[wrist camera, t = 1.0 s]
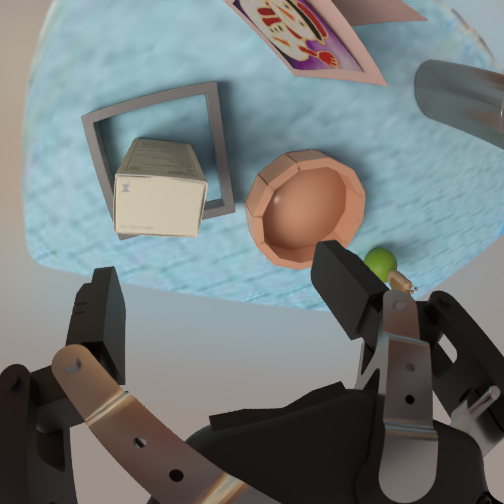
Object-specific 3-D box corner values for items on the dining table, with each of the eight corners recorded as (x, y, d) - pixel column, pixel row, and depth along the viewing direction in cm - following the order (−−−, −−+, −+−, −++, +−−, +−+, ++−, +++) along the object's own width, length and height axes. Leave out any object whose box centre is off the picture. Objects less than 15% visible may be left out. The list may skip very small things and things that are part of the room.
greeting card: (215, 4, 20) (258, -56, 8) (270, -31, 18) (347, -87, 6) (289, 80, 26) (379, 93, 14) (336, 44, 24) (440, 44, 12)
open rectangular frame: (213, 81, 24) (216, 81, 23) (231, 204, 33) (235, 212, 31) (86, 113, 23) (81, 116, 21) (122, 231, 31) (120, 240, 29)
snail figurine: (380, 231, 41) (430, 278, 32) (386, 258, 45) (429, 304, 36) (352, 249, 42) (398, 302, 32) (360, 275, 46) (401, 326, 36)
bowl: (351, 144, 32) (368, 153, 29) (346, 239, 40) (358, 253, 37) (239, 160, 30) (247, 170, 27) (252, 263, 38) (260, 280, 35)
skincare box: (129, 176, 28) (109, 235, 18) (134, 135, 25) (111, 172, 16) (187, 182, 30) (198, 241, 20) (195, 142, 28) (209, 182, 18)
